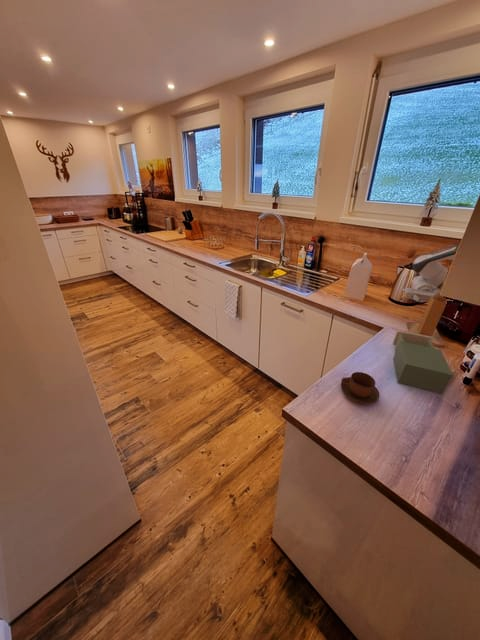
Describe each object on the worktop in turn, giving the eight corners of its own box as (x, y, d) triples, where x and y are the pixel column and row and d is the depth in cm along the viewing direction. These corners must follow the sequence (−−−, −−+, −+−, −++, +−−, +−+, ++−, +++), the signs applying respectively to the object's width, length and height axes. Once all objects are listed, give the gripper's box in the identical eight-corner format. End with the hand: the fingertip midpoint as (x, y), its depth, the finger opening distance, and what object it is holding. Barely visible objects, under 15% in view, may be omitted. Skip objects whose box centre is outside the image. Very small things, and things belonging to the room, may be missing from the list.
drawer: (391, 338, 118) (396, 325, 115) (422, 344, 114) (428, 331, 111) (396, 362, 103) (402, 347, 99) (432, 370, 99) (440, 355, 96)
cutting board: (433, 329, 129) (434, 326, 128) (443, 348, 114) (445, 345, 114) (406, 323, 133) (407, 321, 132) (412, 341, 118) (413, 339, 117)
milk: (362, 300, 156) (375, 257, 144) (343, 296, 161) (353, 254, 149) (365, 294, 166) (377, 253, 153) (346, 290, 170) (356, 250, 158)
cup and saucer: (347, 406, 83) (351, 392, 80) (334, 380, 93) (338, 367, 90) (384, 407, 83) (390, 393, 80) (368, 381, 93) (372, 367, 91)
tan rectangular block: (429, 331, 124) (446, 292, 115) (431, 336, 120) (450, 296, 111) (417, 328, 126) (433, 290, 116) (419, 333, 122) (436, 294, 112)
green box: (392, 358, 106) (399, 341, 102) (431, 367, 102) (440, 349, 98) (397, 383, 93) (406, 364, 89) (442, 394, 89) (453, 374, 85)
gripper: (403, 282, 136) (408, 292, 125) (449, 289, 130) (458, 300, 119) (399, 294, 140) (403, 304, 128) (444, 301, 133) (452, 312, 122)
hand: (430, 302), depth 124 cm, fingers open, 8 cm apart
